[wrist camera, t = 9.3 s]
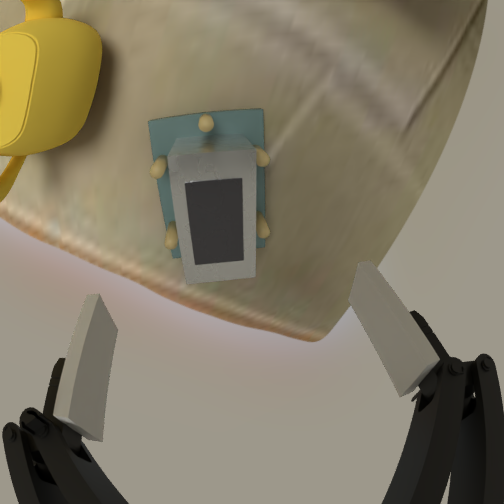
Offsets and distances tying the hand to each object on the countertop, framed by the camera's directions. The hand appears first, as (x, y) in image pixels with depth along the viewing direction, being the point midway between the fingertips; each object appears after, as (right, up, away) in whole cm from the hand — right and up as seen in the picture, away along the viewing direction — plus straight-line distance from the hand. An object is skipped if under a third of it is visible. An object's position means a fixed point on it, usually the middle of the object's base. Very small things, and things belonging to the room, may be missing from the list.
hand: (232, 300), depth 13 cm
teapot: (-18, +20, +4) cm, 27 cm away
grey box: (-3, +8, +13) cm, 16 cm away
